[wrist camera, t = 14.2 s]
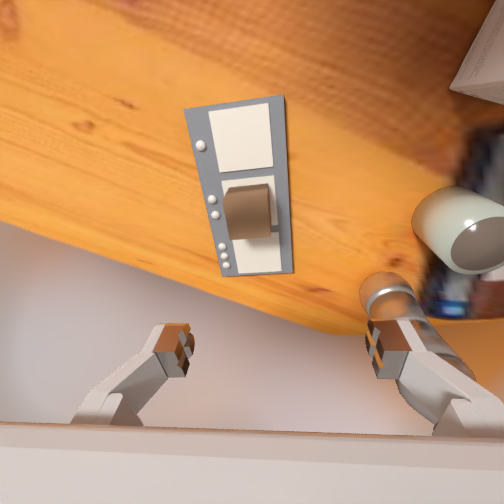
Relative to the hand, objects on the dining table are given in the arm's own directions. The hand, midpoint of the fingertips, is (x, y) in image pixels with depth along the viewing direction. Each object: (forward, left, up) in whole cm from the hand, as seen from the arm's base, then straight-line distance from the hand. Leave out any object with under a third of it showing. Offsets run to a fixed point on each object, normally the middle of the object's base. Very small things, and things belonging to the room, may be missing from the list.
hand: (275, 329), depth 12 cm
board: (+1, -4, -21) cm, 22 cm away
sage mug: (+5, +19, -21) cm, 29 cm away
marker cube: (+1, -3, -20) cm, 21 cm away
